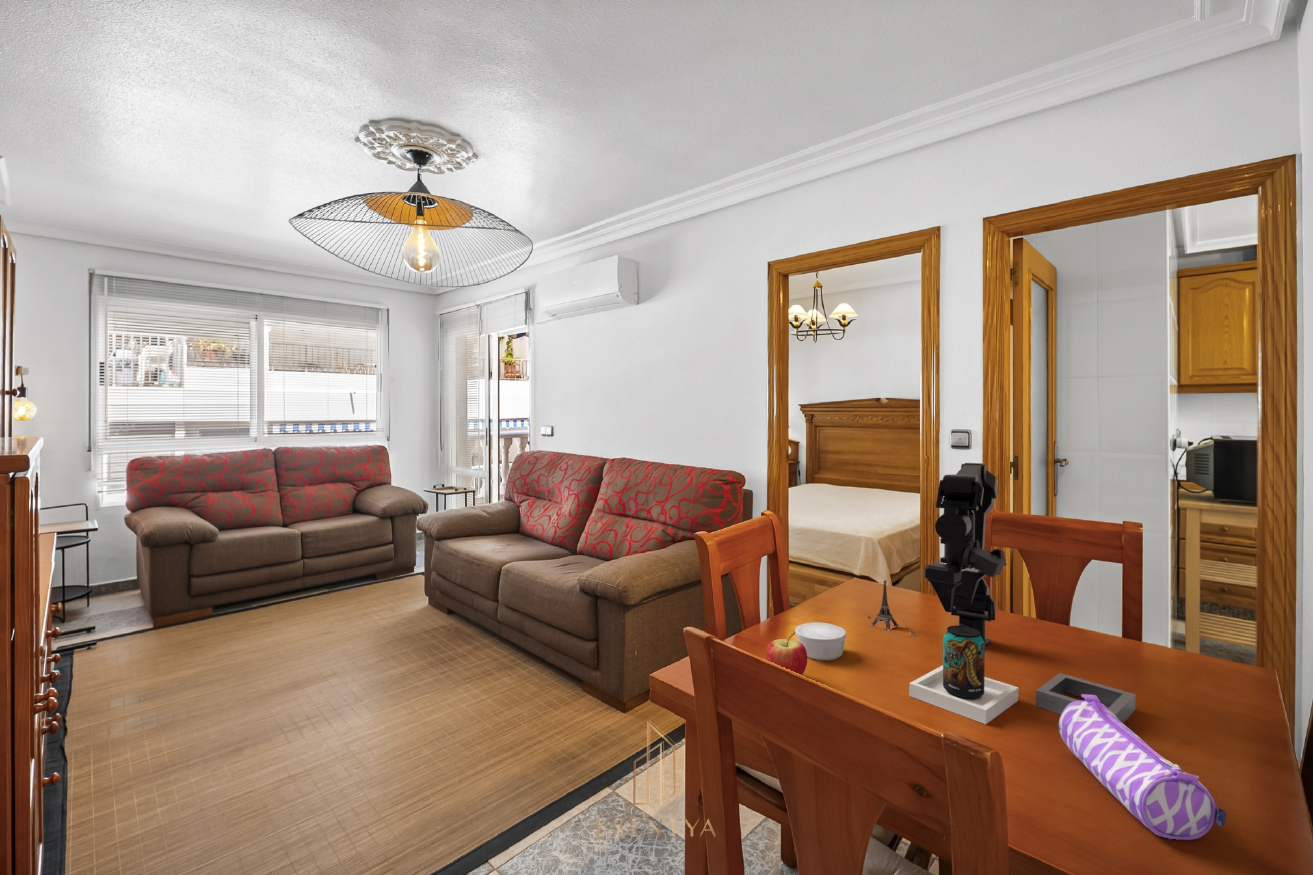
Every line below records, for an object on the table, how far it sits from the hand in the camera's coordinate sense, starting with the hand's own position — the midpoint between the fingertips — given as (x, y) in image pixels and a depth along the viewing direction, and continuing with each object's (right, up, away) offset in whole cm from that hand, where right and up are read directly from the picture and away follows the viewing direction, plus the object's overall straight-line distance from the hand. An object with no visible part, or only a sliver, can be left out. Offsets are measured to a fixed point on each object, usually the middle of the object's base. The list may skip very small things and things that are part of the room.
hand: (958, 607), depth 128 cm
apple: (-37, -14, -4) cm, 40 cm away
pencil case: (+3, -15, -42) cm, 45 cm away
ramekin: (-27, -13, +10) cm, 31 cm away
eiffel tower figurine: (-5, -13, +27) cm, 31 cm away
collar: (+15, -14, -17) cm, 26 cm away
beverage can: (-6, -13, -13) cm, 19 cm away
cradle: (-6, -14, -13) cm, 20 cm away
